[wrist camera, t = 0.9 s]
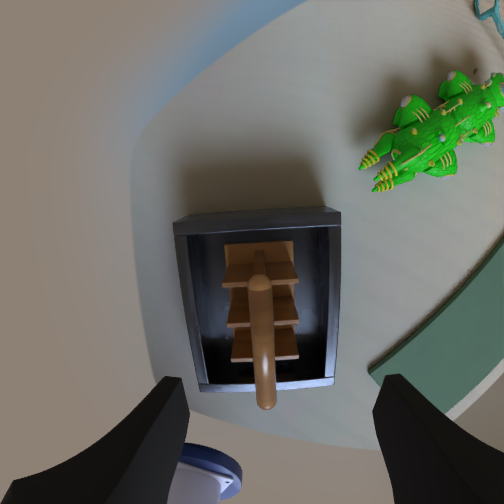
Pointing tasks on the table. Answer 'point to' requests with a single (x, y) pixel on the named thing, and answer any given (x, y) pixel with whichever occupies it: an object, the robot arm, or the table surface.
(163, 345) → the table surface
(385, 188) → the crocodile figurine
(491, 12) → the sunglasses
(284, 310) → the dish rack
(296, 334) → the open box
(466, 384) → the drying mat
